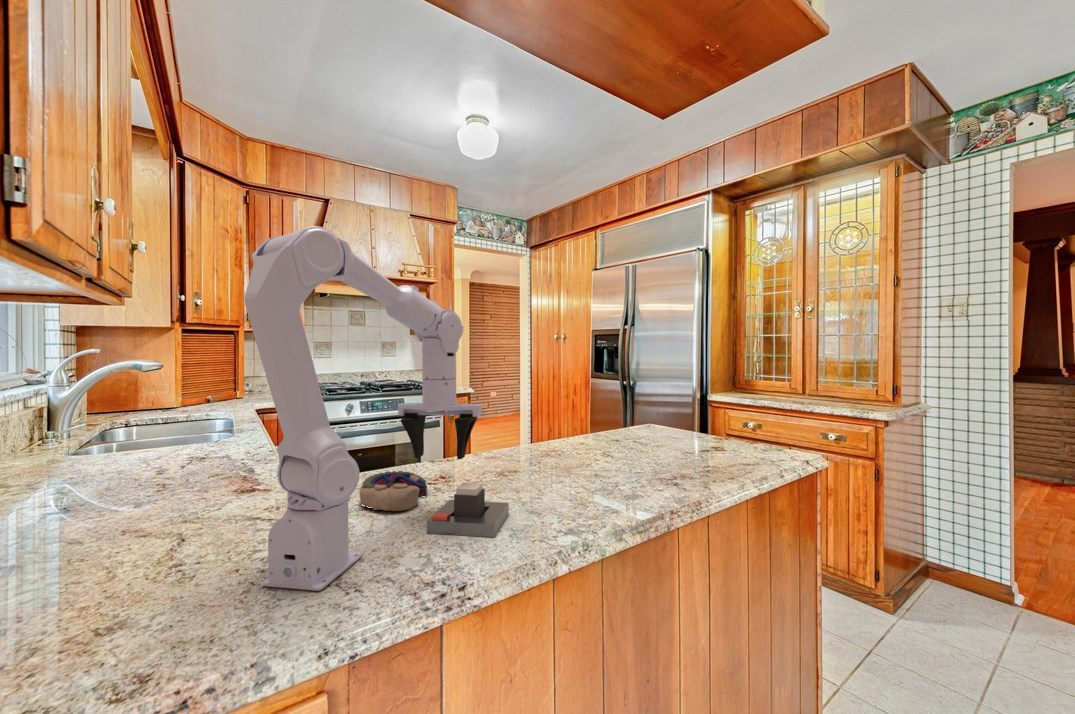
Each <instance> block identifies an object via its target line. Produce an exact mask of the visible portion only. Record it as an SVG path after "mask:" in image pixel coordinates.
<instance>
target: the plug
mask: <svg viewBox="0 0 1075 714" xmlns="http://www.w3.org/2000/svg"><path fill="white" fill-rule="evenodd" d="M455 490H456V492H455V494H453V500H454V517H470V518H481V517H482V516H483V515H484V514H485V502H486V500H485V499H486V498H485V494H486V491H485V490H486V489H485V488H483V483H479V482H464V481H463V482H462V483H461V484H460V485H458V487H456V489H455Z"/></svg>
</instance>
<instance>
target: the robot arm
mask: <svg viewBox="0 0 1075 714" xmlns="http://www.w3.org/2000/svg"><path fill="white" fill-rule="evenodd" d="M251 261H252V263H253V266H252V269H251V273H250V275H249V279H248V282H247V285H246V286H247V287H246V290H245V294H244V306H245V309H246V312H247V314H248V315H247V316H248V319H249V322H250V326H251V328H252V329H251V330H252V332H253V336H254V340H255V342H256V343H255V344H256V346H257V350H258V352H259V356H260V360H261V364H262V367H263V370H264V373H265V376H266V380H267V383H268V387H269V390H270V393H271V394H270V395H271V398H272V401H273V405H274V407H275V410H276V411H275V412H276V414H277V418H278V422H279V424H280V427H281V431H282V435H283V439H282V440H281V442H280V443H279V444H278V446H277V448H276V451H277V454H278V467H277V472H276V477H277V482H278V484H279V485H280V487H281V488H282V489H283V490H284V491H286V493H287V494H286V496H287V498H286V499H287V506H286V507H287V508H286V510H285V512H284V514H283V515H282V516H281V517H280V518H279V519H278V520H277V521H276V522H275V523H274V524H273V525H272V527H271V528H270V530H269V533H268V538H267V551H268V552H267V556H268V557H267V559H268V562H267V563H268V565H267V566H268V570H267V571H268V577H267V578H266V579H264V580H263V581H262V586H263V587H269V588H271V587H273V588H285V589H294V590H306V591H315V592H316V591H318V592H319V591H322V590H323V589H324V588H325V587H327V586H328V585H329V584H330V583H332V582H333V580H335V579H336V578H337V577H338V576H340V575H341V574H343V573H344V572H345V571H346V570H347V569H348V568H349V567H351V566H352V565H353V564H354V563H356V562H357V561H358V560H359V559H361V558H362V557H363V553H362V552H359V551H349V545H350V544H349V539H350V538H349V502H350V501H351V496H352V495H353V493H354V492H355V490H356V488H357V486H358V484H359V480H360V468H359V465H358V462H357V461H356V460H355V458H354V457H352V456H351V455H350V453H349V451H348V450H347V449H348V448H347V445H346V443H345V441H344V440H343V439H342V437H341V436H340V435H338V433H337V432H336V431H335V430H334V429H333V428H332V427H331V425H330V420H329V419H328V418H329V416H328V413H327V409H326V406H325V402H324V398H323V395H322V391H321V387H320V383H319V380H318V379H319V378H318V376H317V373H316V368H315V365H314V360H313V357H312V354H311V350H310V345H309V342H308V339H307V335H306V331H305V328H304V324H303V319H302V316H301V312H300V308H301V306H302V305H303V304H304V302H305V301H307V300H306V299H307V298H308V297H309V296H310V295H311V293H312V292H313V291H314V289H315V288H317V287H318V286H321V285H322V284H324V283H325V282H327V281H329V282H333V281H336V282H337V281H338V282H341V283H343V284H345V285H347V286H349V287H352V288H353V289H355V290H357V291H359V292H360V293H362V294H364V295H366V296H368V297H369V298H371V299H373V300H376V301H378V302H379V303H381V304H383V305H384V308H385V312H386V314H387V316H388V317H390V318H391V319H393V320H395V321H397V322H398V323H400V324H402V325H404V326H405V327H407V328H408V329H410V330H411V331H413V332H414V335H415V336H416V338H417V339H418V341H419V342H421V347H422V348H421V350H422V351H421V352H422V353H421V355H422V358H421V359H422V361H421V362H422V363H421V364H422V373H421V374H422V382H421V385H422V402H402V403H399V404H397V415H398V416H403V417H402V418H401V419H400V422H401V425H402V426H403V428H404V430H405V432H406V434H407V436H408V437H409V438H408V439H409V441H410V443H411V447H412V449H413V450H412V451H413V455H414V458H417V459H418V458H421V457H422V456H424V451H425V441H424V439H425V437H424V435H425V434H424V433H425V425H426V418H427V416H445V417H447V416H449V417H450V416H453V417H454V416H455V417H457V416H458V417H457V418H454V426H455V431H456V432H455V435H456V458H457V460H462V459H464V458H465V457H466V451H467V446H468V443H469V439H470V436H471V433H472V430H473V429H474V426H475V424H476V422H477V420H478V417H481V416H483V415H482V411H483V410H482V404H481V403H463V402H462V403H461V402H457V352H458V349H460V348H459V347H460V346H459V345H460V344H459V343H460V339H461V338H462V336H463V335H464V334H463V333H464V325H462V320H461V318H460V316H459V315H458V314H457V313H456V312H455V311H454V310H452V309H449V308H448V309H444V308H443V309H442V307H440V306H439V303H438V302H436V301H434V300H430V299H429V298H428V297H426V296H424V294H422V293H420V292H419V291H420V289H419V288H418V287H417V286H415V285H408V284H402V285H400V286H397V285H396V284H395V283H393V282H392V281H391V280H389V278H387V277H386V276H385V275H383V274H382V273H381V272H379V271H378V270H377V269H376V268H374V267H373V266H371V265H370V264H369V263H368V262H367V261H365V260H363V258H361V257H360V256H359V255H357V254H356V253H355V252H354V251H352V248H351V246H350V245H349V243H348V241H346V240H344V239H342V238H339V237H337V236H336V235H335V234H334V233H333V232H331V230H329V229H327V228H325V227H322V226H318V225H312V226H306V227H305V228H303V229H301V230H298V231H294V232H290V233H287V234H283V235H277V236H273V237H269V238H268V239H266V240H265V241H264V242H263V243H262V244H261V245H260V246H259V247H258V248H256V250H255V251H254V252H252V254H251Z"/></svg>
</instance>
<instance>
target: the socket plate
mask: <svg viewBox="0 0 1075 714" xmlns="http://www.w3.org/2000/svg"><path fill="white" fill-rule="evenodd" d="M509 506H510V505H509V502H502V501H501V502H496V501H495V502H494V501H485V514H484V515H483V516H482V517H481V518H470V517H454V499H449V500H447V501H446V502H445V503H444V504H443V505H442V506H441V507H440V508H439V509H437V511H436V512H434V513H433V514H432V515H431V516H430V517H429V518H428V519H426V534H430V535H431V534H432V535H433V534H434V535H435V534H436V535H448V536H449V535H450V536H467V537H481V538H495V537H497V534H498V532H499V531H500V529H501V527H502V526H503V525H504V523H505V520H507V518H508V516H509V515H510V507H509Z"/></svg>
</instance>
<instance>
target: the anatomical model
mask: <svg viewBox="0 0 1075 714" xmlns="http://www.w3.org/2000/svg"><path fill="white" fill-rule="evenodd" d="M426 482H427V480H426V479H424V477H422V476H420V475H419V474H416V473H413V472H410V471H403V470H398V471H396V470H393V471H385V472H380V473H374V475H369V477H367V478H365V479H364V480H363V481H362V484H361V486H360V489H359V497H360V498H359V499H360V500H359V501H360V505H361V504H363V505H365V506H368V507H373V508H372V510H373V511H374V510H383V511H387V512H388V511H392V512H398V511H399V512H400V511H401V512H402V511H407V510H410V509H412V508H415V507H417V506H418V505H417V504H419V498H418V497H422V496H426V497H427V493H428V485H427V484H426ZM416 505H417V506H416ZM414 506H415V507H414Z"/></svg>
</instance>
